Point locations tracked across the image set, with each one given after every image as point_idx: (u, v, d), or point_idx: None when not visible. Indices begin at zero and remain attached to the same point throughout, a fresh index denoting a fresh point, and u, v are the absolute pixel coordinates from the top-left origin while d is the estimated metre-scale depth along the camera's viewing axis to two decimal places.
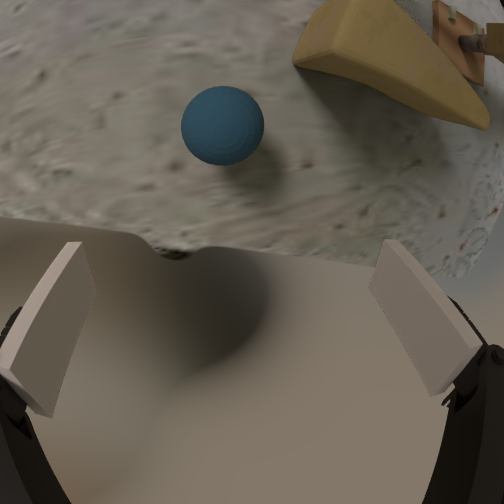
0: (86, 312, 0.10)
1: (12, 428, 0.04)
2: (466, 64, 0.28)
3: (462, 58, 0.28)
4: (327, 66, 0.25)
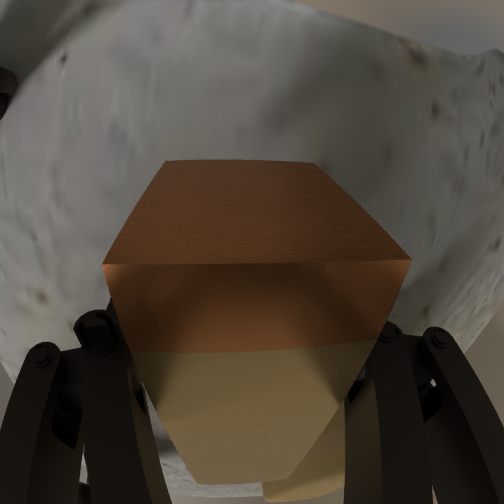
0: None
1: (136, 404, 0.06)
2: None
3: None
4: None
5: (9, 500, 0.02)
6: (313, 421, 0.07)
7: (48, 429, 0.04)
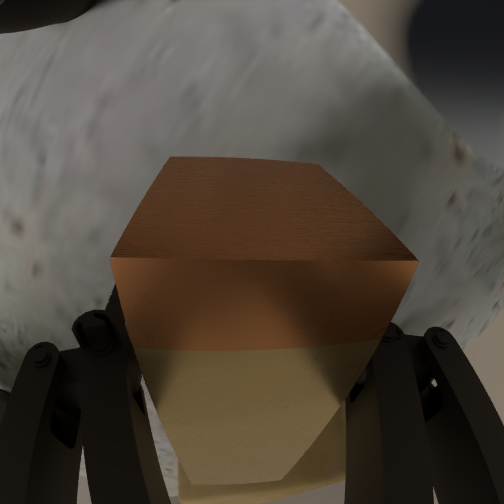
0: None
1: (135, 404, 0.06)
2: None
3: None
4: None
5: (8, 500, 0.02)
6: (312, 422, 0.07)
7: (47, 429, 0.04)
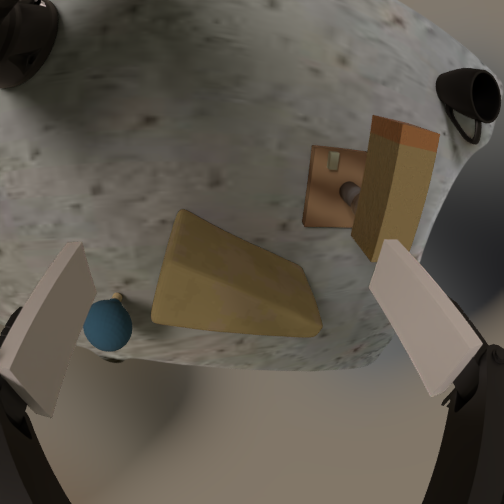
0: (86, 312, 0.10)
1: (12, 428, 0.04)
2: (348, 214, 0.42)
3: (343, 209, 0.41)
4: None
5: None
6: (424, 186, 0.25)
7: None
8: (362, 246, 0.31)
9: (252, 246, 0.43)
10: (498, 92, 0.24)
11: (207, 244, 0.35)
